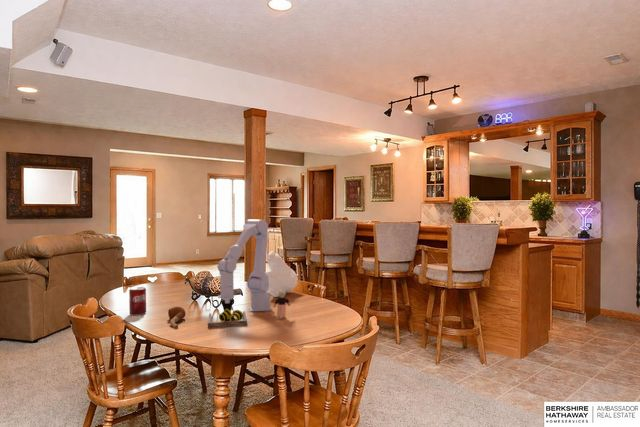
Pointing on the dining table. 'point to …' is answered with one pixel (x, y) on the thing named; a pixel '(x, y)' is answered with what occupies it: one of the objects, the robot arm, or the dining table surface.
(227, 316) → the opera glasses
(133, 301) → the soda can
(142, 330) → the dining table surface
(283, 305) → the grandmother figurine
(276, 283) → the white rounded lump
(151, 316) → the dining table surface
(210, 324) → the bar
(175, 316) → the smoking pipe
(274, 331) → the dining table surface
